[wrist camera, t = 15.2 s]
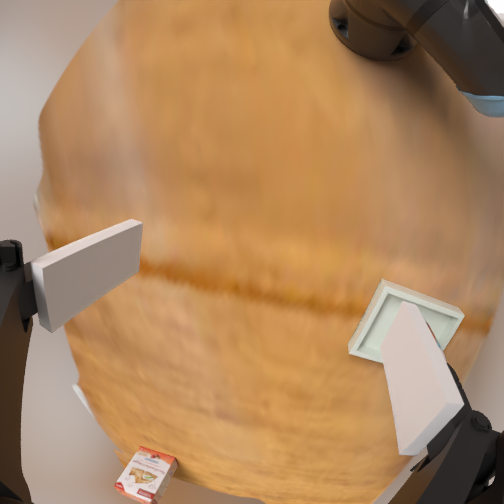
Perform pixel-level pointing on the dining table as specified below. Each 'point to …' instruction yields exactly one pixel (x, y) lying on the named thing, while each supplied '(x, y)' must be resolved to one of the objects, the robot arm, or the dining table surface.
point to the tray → (385, 310)
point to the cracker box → (146, 476)
